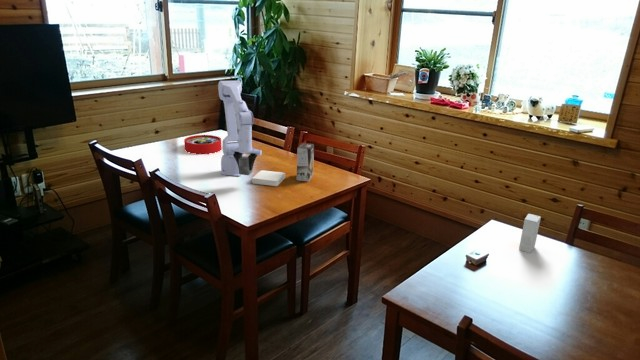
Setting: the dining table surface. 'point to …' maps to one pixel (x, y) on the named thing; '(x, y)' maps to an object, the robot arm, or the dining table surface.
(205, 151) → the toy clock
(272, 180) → the plinth
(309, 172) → the coffee box
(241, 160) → the block
